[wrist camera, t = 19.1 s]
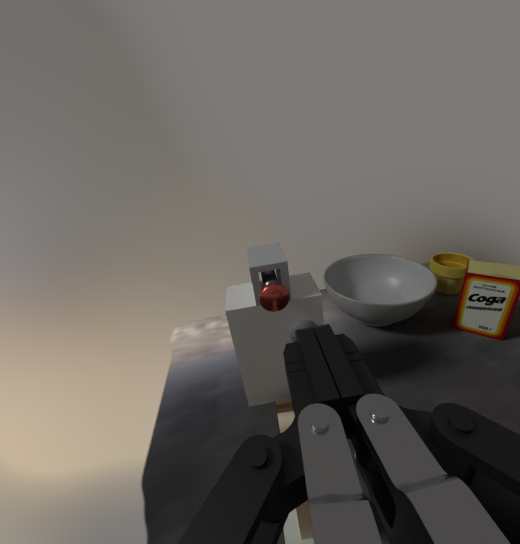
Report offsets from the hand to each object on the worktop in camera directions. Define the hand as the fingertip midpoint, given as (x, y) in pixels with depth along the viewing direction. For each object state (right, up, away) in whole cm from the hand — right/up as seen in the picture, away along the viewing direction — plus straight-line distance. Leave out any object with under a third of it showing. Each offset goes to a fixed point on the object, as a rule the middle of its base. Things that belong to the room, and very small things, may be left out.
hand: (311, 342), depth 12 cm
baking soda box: (+51, -10, +52) cm, 74 cm away
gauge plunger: (0, 0, +32) cm, 32 cm away
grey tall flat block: (+3, -21, +45) cm, 50 cm away
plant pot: (+54, -2, +67) cm, 86 cm away
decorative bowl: (+30, -8, +62) cm, 70 cm away
